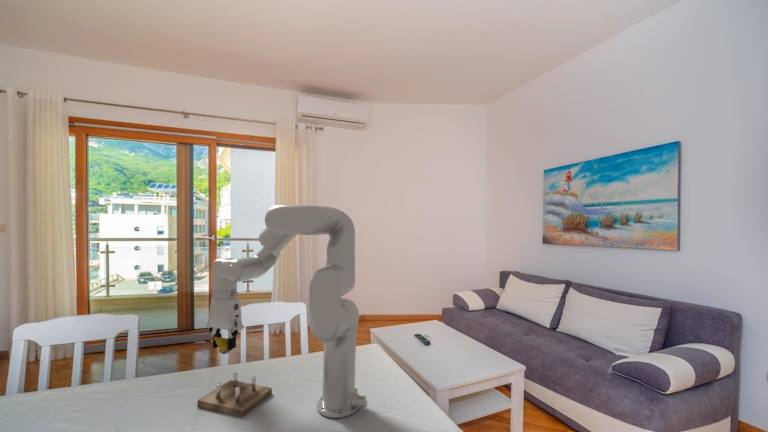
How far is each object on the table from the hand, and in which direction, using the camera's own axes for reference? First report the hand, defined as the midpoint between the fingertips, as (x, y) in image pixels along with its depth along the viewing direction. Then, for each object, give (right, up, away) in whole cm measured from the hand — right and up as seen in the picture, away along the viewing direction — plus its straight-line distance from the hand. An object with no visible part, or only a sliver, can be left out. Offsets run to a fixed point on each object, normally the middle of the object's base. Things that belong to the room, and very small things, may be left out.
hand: (224, 347), depth 109 cm
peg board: (+9, -11, -11) cm, 19 cm away
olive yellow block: (0, -2, 0) cm, 2 cm away
